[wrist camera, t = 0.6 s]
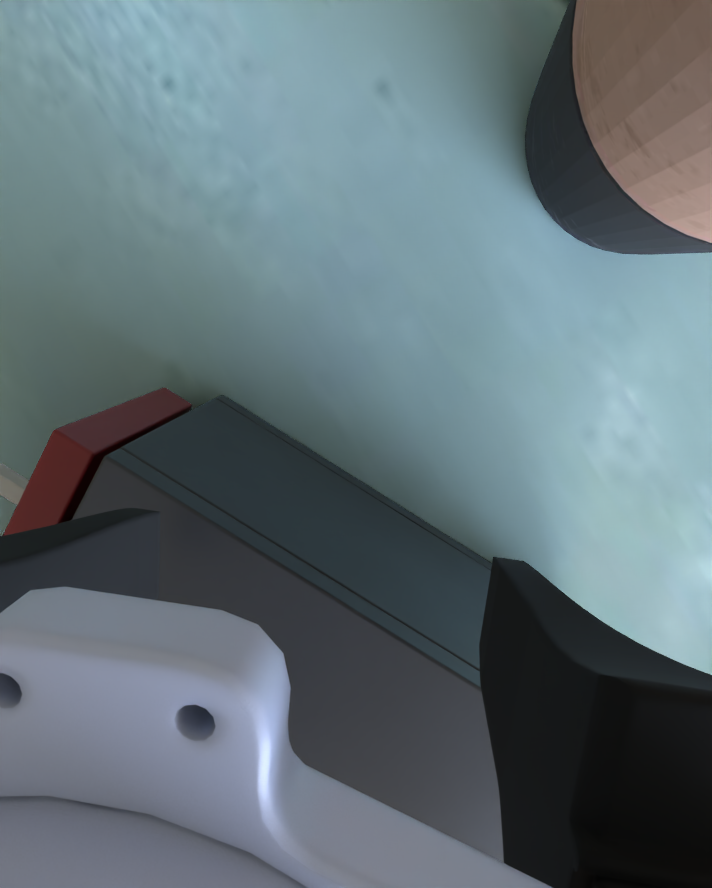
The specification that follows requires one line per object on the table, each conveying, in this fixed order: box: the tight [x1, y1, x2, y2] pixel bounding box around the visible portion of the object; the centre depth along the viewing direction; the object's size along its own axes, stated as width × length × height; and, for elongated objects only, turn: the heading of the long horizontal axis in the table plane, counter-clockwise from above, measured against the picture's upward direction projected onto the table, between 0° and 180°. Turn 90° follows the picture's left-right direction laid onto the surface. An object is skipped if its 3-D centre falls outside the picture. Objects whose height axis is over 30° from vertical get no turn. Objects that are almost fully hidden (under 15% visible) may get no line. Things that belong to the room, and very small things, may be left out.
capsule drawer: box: [0, 388, 192, 536], centre depth 21 cm, size 18×12×7 cm
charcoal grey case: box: [72, 395, 504, 863], centre depth 21 cm, size 15×14×9 cm
